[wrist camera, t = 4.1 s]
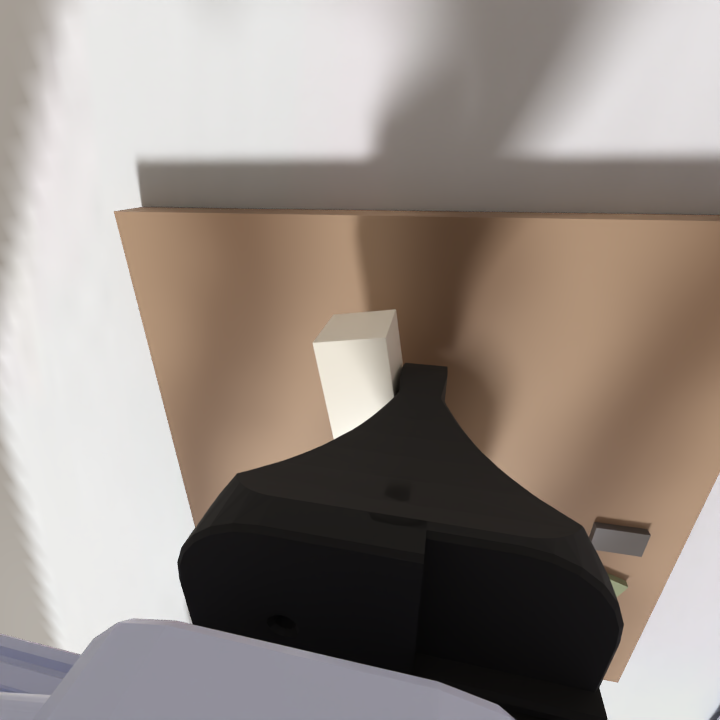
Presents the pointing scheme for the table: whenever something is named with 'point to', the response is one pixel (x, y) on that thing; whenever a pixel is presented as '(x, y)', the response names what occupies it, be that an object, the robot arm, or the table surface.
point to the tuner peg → (358, 366)
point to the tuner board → (457, 352)
